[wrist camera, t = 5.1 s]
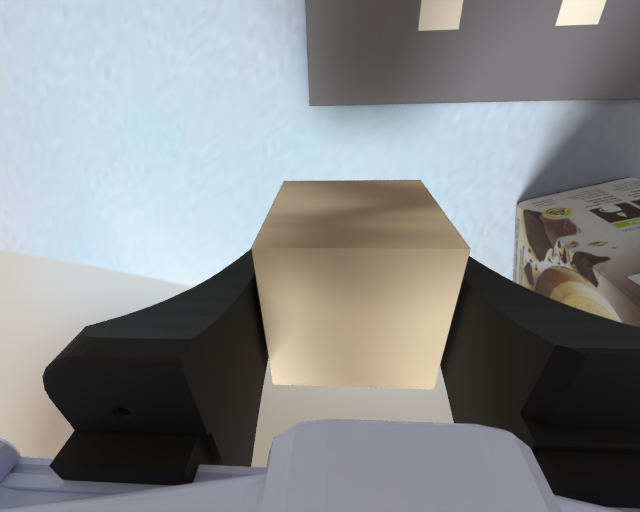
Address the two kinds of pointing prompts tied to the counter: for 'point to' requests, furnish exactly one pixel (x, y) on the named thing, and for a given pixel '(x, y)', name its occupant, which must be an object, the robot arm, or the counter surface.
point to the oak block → (357, 283)
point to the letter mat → (471, 51)
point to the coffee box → (583, 248)
